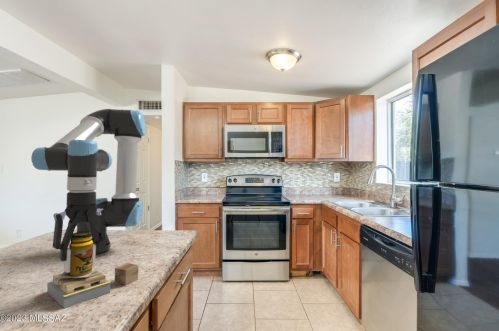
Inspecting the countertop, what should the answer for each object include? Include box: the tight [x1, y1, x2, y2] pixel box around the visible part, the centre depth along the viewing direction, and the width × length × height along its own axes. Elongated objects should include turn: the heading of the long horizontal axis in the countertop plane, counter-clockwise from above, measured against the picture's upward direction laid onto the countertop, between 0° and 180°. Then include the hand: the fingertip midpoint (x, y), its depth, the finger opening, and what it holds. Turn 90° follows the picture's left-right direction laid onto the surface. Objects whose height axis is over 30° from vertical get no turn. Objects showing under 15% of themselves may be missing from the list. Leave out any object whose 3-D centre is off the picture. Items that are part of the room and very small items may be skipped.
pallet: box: [52, 269, 107, 294], centre depth 79 cm, size 12×10×2 cm
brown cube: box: [114, 262, 139, 286], centre depth 88 cm, size 5×5×5 cm
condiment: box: [56, 231, 98, 279], centre depth 79 cm, size 7×8×12 cm
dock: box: [46, 279, 112, 309], centre depth 79 cm, size 14×12×3 cm
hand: (79, 267), depth 79 cm, fingers closed on condiment, 6 cm apart
